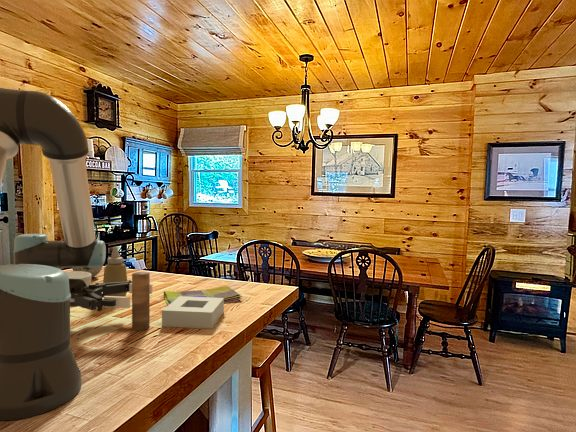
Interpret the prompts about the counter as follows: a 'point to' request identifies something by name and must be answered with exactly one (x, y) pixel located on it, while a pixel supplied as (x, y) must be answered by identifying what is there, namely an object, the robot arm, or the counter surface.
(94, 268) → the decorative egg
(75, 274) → the cereal bowl
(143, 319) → the walnut dowel
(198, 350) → the counter surface
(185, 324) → the socket block
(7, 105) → the robot arm
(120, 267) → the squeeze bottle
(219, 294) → the dish towel
